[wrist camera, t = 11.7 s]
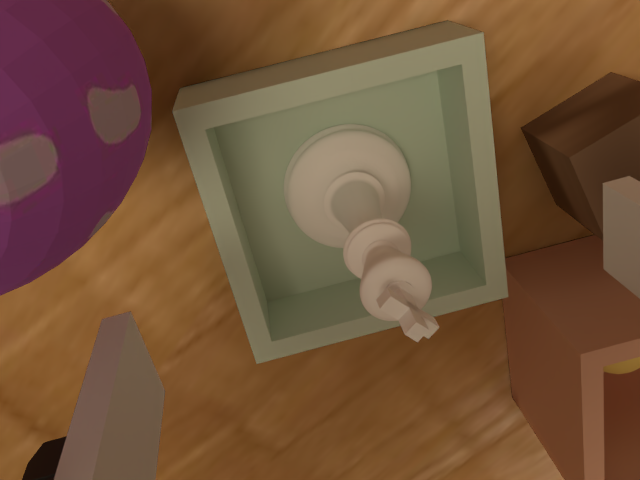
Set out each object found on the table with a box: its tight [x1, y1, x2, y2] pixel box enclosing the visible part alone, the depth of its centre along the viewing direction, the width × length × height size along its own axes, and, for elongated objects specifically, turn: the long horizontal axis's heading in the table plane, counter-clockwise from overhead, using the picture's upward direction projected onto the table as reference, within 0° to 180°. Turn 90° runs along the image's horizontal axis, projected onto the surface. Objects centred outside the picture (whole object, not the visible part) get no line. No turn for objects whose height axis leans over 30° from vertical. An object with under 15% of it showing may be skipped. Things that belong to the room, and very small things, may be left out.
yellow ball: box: [603, 357, 640, 374], centre depth 27 cm, size 3×3×3 cm
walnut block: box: [521, 72, 640, 240], centre depth 23 cm, size 4×4×4 cm
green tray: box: [172, 20, 508, 364], centre depth 23 cm, size 10×10×4 cm
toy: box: [0, 0, 152, 295], centre depth 14 cm, size 7×7×15 cm
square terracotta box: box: [502, 235, 640, 480], centre depth 26 cm, size 8×8×7 cm
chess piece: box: [284, 124, 439, 342], centre depth 19 cm, size 5×5×10 cm
